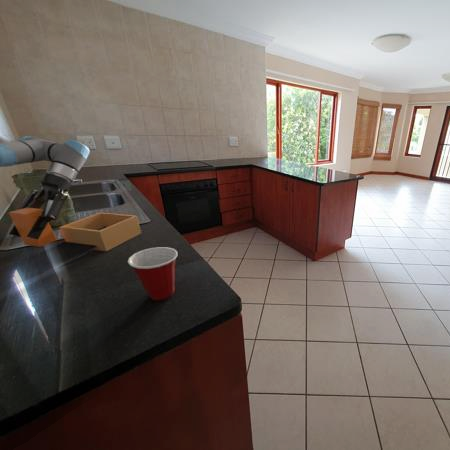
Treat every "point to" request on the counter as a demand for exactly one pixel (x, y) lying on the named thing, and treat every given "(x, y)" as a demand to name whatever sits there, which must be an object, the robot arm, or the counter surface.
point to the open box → (106, 238)
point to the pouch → (31, 182)
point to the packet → (25, 222)
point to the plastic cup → (156, 270)
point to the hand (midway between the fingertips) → (23, 236)
